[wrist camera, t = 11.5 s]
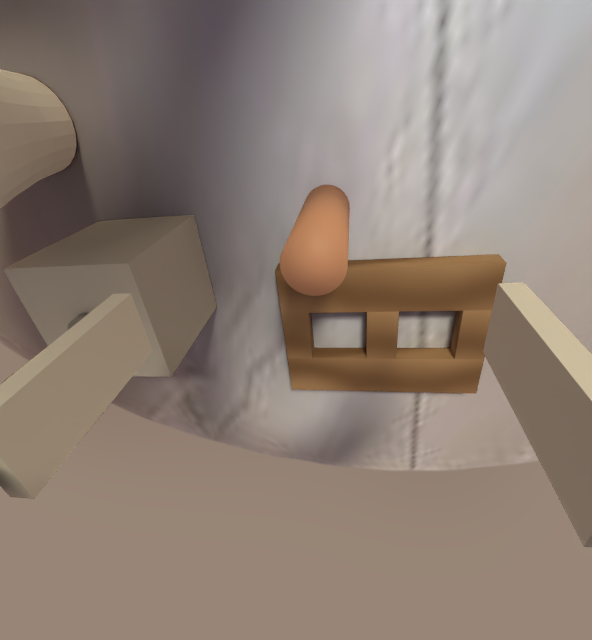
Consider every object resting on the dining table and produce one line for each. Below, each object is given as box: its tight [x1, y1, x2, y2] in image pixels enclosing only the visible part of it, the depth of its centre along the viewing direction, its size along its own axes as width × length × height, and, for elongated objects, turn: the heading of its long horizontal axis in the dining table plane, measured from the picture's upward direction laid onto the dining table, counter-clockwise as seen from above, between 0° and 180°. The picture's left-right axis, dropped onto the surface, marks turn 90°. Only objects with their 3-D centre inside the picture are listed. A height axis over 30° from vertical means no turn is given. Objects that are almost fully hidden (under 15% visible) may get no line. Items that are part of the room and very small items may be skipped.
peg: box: [280, 185, 350, 296], centre depth 21 cm, size 3×3×10 cm
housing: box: [2, 215, 217, 377], centre depth 25 cm, size 8×8×10 cm
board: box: [275, 254, 506, 393], centre depth 29 cm, size 12×16×2 cm
